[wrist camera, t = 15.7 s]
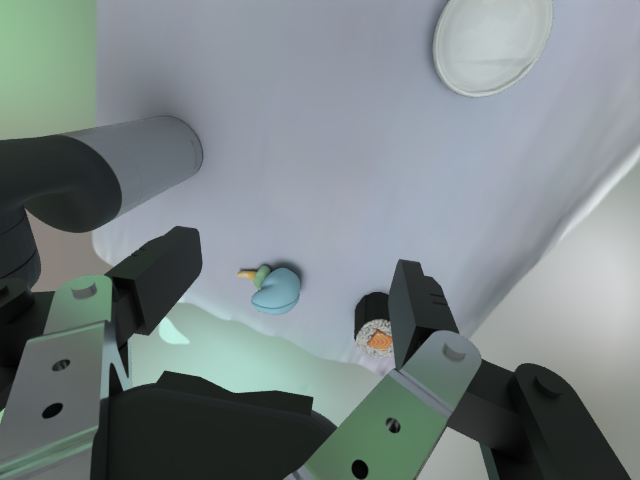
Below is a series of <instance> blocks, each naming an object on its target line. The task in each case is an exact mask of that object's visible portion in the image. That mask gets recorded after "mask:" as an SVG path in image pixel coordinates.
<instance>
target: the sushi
mask: <svg viewBox="0 0 640 480" xmlns="http://www.w3.org/2000/svg"><path fill="white" fill-rule="evenodd" d="M388 298H389V295H387V294H385V293H381V292H375V293H371V294H369V295H367V296H366V295H365V296H364V297H363V298H362V300H361V301H360V302H359V303H358V304H357V306H356V309H355V330H354V339H355V344H356V347H358V346H359V348H360V351H362V349H363V350H364V351H363V352H366V351H367V352H366V355H368V354H369V355H370V354H371V356H374V357H377V358H378V357H379V356H381V358H382V359H383V358H385V357H386V356H389V358H391V354H392V355H393V356H394V349H393V341H392V333H391V325H390V317H389V309H388Z"/></svg>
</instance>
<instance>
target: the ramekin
mask: <svg viewBox="0 0 640 480" xmlns="http://www.w3.org/2000/svg"><path fill="white" fill-rule="evenodd" d="M553 13H554V9H553V0H449V1H448V2H447V4H446V6H445V7H444V9H443V11H442V13H441V15H440V17H439V20H438V22H437V25H436V29H435V33H434V38H433V48H432V52H433V61H434V65H435V69H436V72H437V74H438V76H439V78H440V79H441V81H442V82H443V83H444V84H445V85H446V86H447V87H448V88H449V89H450V90H452V91H453V92H455V93H457V94H460V95H463V96H467V97H486V96H491V95H494V94H497V93H499V92H502V91H504V90H506V89H507V88H509V87H511V86H512V85H514V84H515V83H516V82H518V81H519V80H520V79H521V78H522V77H524V76H525V75H526V74H527V73H528V72H529V70H530V69H531V68H532V67H533V66H534V64H535V63H536V62H537V60H538V59H539V57H540V55H541V54H542V52H543V50H544V48H545V46H546V43H547V41H548V38H549V36H550V32H551V28H552V23H553Z"/></svg>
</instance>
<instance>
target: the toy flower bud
mask: <svg viewBox="0 0 640 480" xmlns="http://www.w3.org/2000/svg"><path fill="white" fill-rule="evenodd" d="M237 277H247V278H249V279H251V280H252V281H253V282H254V285H255V286H256V288H257V289H258V292H256V293H255V294H254V295H253V296H252V305H253V306H254V308H255V309H257V310H258V311H260V312H263V313H267V314H273V315H280V314H284V313H287V312H289V311H290V310H291V309H293V307H294V306H295V305H296V303H297V302H298V300H299V296H300V293H299V292H300V281H299V278H298V277H297V275H296V274H295V273H293V272H292V271H290V270H288V269H286V268H279V269H276V270H274V271H273V272H272V273H271V271H270V269H269V267H267V266H261V267H260V268H259V270H258V272H254V271H240V272H238V273H237Z"/></svg>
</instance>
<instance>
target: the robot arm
mask: <svg viewBox="0 0 640 480" xmlns="http://www.w3.org/2000/svg"><path fill="white" fill-rule="evenodd" d="M201 163H202V148H201V145H200V142H199V139H198V138H197V136H196V134H195V133H194V132H193V131H192V129H191V128H190V127H189V126H188V125H186V124H185V123H184V122H182V121H180V120H179V119H176V118H173V117H168V116H163V117H156V118H150V119H143V120H137V121H131V122H125V123H119V124H113V125H107V126H102V127H96V128H90V129H84V130H79V131H74V132H67V133H61V134H55V135H50V136H44V137H37V138H23V139H9V140H0V412H1V411H2V410H3V409H4V408H5V410H4V413H3V417H2V420H1V423H0V480H416V479H417V478H418V476H419V474H420V473H421V471H422V469H423V467H424V466H425V464H426V462H427V460H428V459H429V457H430V455H431V453H432V452H433V450H434V448H435V447H436V445H437V443H438V441H439V440H440V438H441V436H442V434H443V433H444V431H445V429H446V427H447V426H448V427H450V428H452V429H454V430H456V431H458V432H460V433H462V434H464V435H466V436H468V437H470V438H472V439H474V440H476V441H478V442H479V444H480V448H481V451H482V455H483V459H484V462H485V466H486V469H487V473H488V477H489V480H631V479H630V477H629V475H628V474H627V472H626V470H625V469H624V467H623V466H622V464H621V462H620V461H619V459H618V458H617V456H616V455H615V453H614V451H613V450H612V448H611V447H610V446H609V444H608V442H607V440H606V439H605V437H604V436H603V434H602V433H601V431H600V429H599V428H598V427H597V425H596V423H595V422H594V420H593V418H592V417H591V415H590V414H589V412H588V410H587V409H586V407H585V406H584V404H583V403H582V401H581V399H580V398H579V396H578V395H577V393H576V392H575V390H574V389H573V388H572V387H571V386H570V385H569V384H568V383H567V382H566V381H565V380H564V379H563V378H562V377H560V376H559V375H557V374H556V373H554V372H552V371H551V370H549V369H547V368H545V367H542V366H539V365H536V364H531V363H525V364H521V365H519V366H518V367H517V369H516V370H515V372H511V371H509V370H506V369H504V368H502V367H499V366H497V365H494V364H491V363H489V362H487V361H485V360H483V359H482V358H481V355H480V352H479V350H478V349H477V348H476V346H475V345H474V344H473V343H472V342H471V341H469V340H468V339H467V338H465V337H464V336H462V335H460V334H459V331H458V328H457V326H456V323H455V321H454V318H453V316H452V313H451V311H450V308H449V306H448V303H447V301H446V298H444V297H445V296H444V293H443V291H442V288H441V286H440V285H439V284H438V283H437V282H436V281H435V280H434V279H433V278H432V277H429V276H424V274H423V271H422V268H421V265H420V263H419V262H415V261H409V260H402V259H399V261H398V263H397V266H396V270H395V273H394V277H393V281H392V284H391V288H390V292H389V298H388V309H389V317H390V325H391V333H392V341H393V349H394V357H395V365H396V368H394V369H392V370H391V371H390V372H389V373H388V374H387V375H386V376H385V377H384V378H383V379H382V380H381V381H380V382H379V384H378V385H377V386H376V387H375V388H374V389H373V390H372V391H371V392H370V393H369V394H368V395H367V397H366V398H365V399H364V400H363V401H362V402H361V403H360V404H359V405H358V406H357V407H356V408H355V410H354V411H353V412H352V413H351V414H350V415H349V416H348V417H347V418H346V419H345V420H344V421H343V423H342V424H341V425H340V426H339V427H337V426H336V425H334V424H333V423H332V422H331V421H330V420H328V419H327V418H325V417H324V416H322V415H321V414H319V413H317V412H315V411H313V410H312V404H313V397H310V396H304V395H298V394H293V393H287V392H282V391H261V392H246V393H233V392H230V391H228V390H226V389H224V388H222V387H220V386H218V385H216V384H214V383H212V382H210V381H208V380H206V379H203V378H201V377H198V376H192V375H187V374H181V373H175V372H170V371H164V372H163V374H162V375H161V377H160V378H159V380H158V381H157V382H156V383H151V384H146V385H141V386H137V387H132V362H131V344H130V340H129V338H130V337H131V336H132V335H133V334H134V333H136V334H142V335H150V334H151V332H152V331H153V330H154V329H155V327H156V326H157V325H158V324H159V323H160V322H161V320H162V319H163V318H164V317H165V316H166V314H167V313H168V312H169V311H170V310H171V308H172V307H173V306H174V305H175V304H176V302H177V301H178V300H179V299H180V298H181V297H182V295H183V294H184V293H185V292H186V291H187V289H188V288H189V287H190V286H191V285H192V283H193V282H194V281H195V280H196V279H197V277H198V276H199V274H200V272H201V269H202V254H201V245H200V236H199V232H198V230H197V229H195V228H189V227H182V226H176V227H174V228H173V229H172V230H170V231H169V232H168V233H166V234H165V235H164V236H160V237H158V238H155V239H153V240H151V241H148V242H147V243H146V244H144V245H143V246H142V247H140V248H139V250H136V251H135V252H134V253H132V254H131V256H128V257H127V258H126V259H124V260H123V261H122V262H120V263H119V264H118V265H116V266H115V267H114V268H112V269H111V270H110V271H108V272H107V273H106V274H104V275H88V276H83V277H79V278H76V279H73V280H71V281H68V282H67V283H65V284H63V285H62V286H60V287H59V288H58V289H57V290H56V291H50V292H31V290H30V289H31V288H32V287H33V286H34V284H35V283H36V282H37V280H38V279H39V276H40V273H41V262H40V256H39V253H38V250H37V246H36V243H35V239H34V236H33V233H32V230H31V227H30V224H29V220H28V217H27V214H26V211H25V209H27V210H28V211H29V212H30V213H31V214H32V215H34V216H35V217H36V218H38V219H39V220H41V221H42V222H44V223H46V224H48V225H50V226H52V227H54V228H56V229H59V230H63V231H67V232H73V233H83V232H88V231H92V230H94V229H97V228H99V227H101V226H103V225H104V224H106V223H108V222H110V221H111V220H113V219H115V218H117V217H119V216H120V215H122V214H124V213H126V212H128V211H130V210H131V209H133V208H135V207H137V206H138V205H140V204H142V203H144V202H146V201H147V200H149V199H151V198H153V197H155V196H156V195H158V194H160V193H162V192H164V191H166V190H167V189H169V188H171V187H173V186H175V185H176V184H178V183H180V182H182V181H184V180H186V179H187V178H189V177H191V176H192V175H194V174H195V173H196V172H197V171H198V170H199V168H200V166H201Z"/></svg>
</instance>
